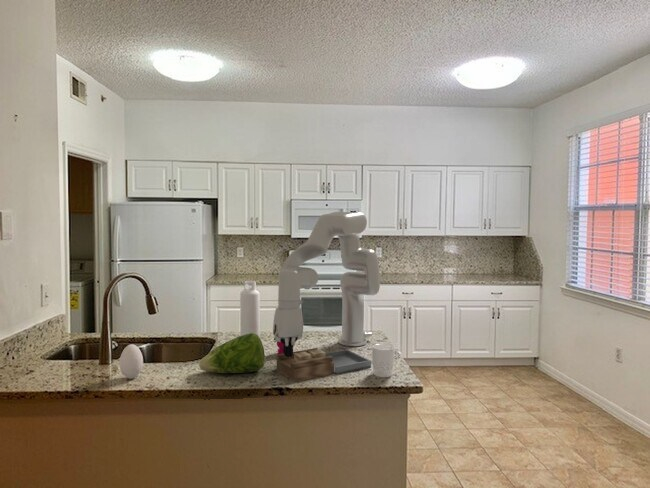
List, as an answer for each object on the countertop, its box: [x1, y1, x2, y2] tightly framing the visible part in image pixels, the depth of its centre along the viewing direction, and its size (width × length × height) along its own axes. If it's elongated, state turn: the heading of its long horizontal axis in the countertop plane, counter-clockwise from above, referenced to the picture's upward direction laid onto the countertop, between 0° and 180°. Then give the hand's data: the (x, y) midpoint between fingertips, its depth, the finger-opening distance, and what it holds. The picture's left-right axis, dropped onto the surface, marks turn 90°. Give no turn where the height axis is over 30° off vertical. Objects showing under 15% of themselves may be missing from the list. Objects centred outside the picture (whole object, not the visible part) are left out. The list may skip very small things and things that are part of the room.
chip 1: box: [294, 352, 311, 362], centre depth 163 cm, size 4×4×2 cm
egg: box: [119, 343, 144, 380], centre depth 154 cm, size 7×7×12 cm
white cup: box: [371, 343, 396, 378], centre depth 161 cm, size 8×8×10 cm
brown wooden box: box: [276, 347, 335, 383], centre depth 163 cm, size 16×14×6 cm
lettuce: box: [198, 333, 266, 374], centre depth 162 cm, size 14×23×13 cm, turn 98°
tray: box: [325, 349, 372, 375], centre depth 172 cm, size 15×16×2 cm
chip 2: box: [309, 348, 326, 359], centre depth 166 cm, size 4×4×2 cm
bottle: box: [239, 280, 261, 339], centre depth 192 cm, size 8×8×28 cm
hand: (288, 356), depth 159 cm, fingers closed
